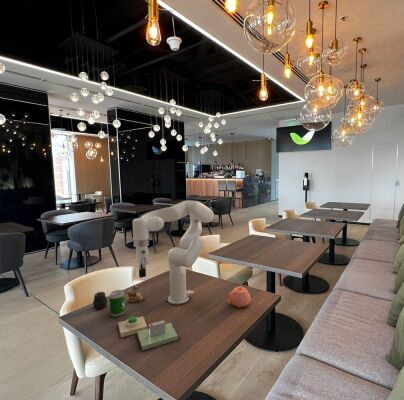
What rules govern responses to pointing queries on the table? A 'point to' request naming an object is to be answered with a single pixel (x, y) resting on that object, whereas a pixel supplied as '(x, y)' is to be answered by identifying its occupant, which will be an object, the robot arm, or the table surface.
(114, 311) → the soda can
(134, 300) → the chocolate bunny
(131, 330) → the button box
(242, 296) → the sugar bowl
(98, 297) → the mate gourd
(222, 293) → the table surface
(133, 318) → the button
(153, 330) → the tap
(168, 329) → the panel
